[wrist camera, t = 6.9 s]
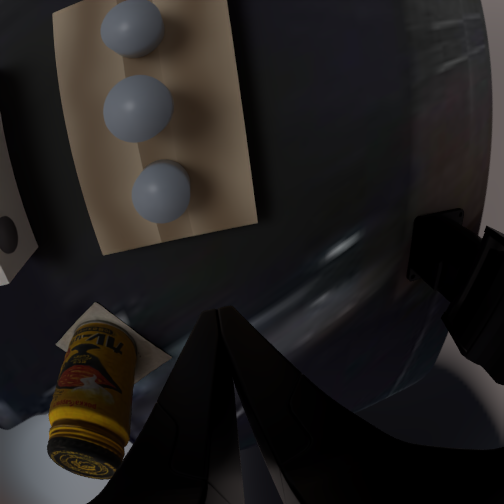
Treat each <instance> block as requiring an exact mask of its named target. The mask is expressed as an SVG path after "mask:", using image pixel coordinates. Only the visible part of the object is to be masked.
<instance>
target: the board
mask: <svg viewBox="0 0 504 504" xmlns="http://www.w3.org/2000/svg"><path fill="white" fill-rule="evenodd" d="M123 1H126V0H84V1H81V2H79V3H76V4H74V5H71V6H69V7H66V8H64V9H62V10H59V11H57V12H55V13H53V31H54V45H55V56H56V65H57V74H58V81H59V88H60V95H61V101H62V107H63V113H64V118H65V123H66V128H67V133H68V137H69V142H70V146H71V151H72V155H73V159H74V163H75V167H76V171H77V175H78V178H79V182H80V186H81V189H82V193H83V196H84V199H85V203H86V206H87V209H88V212H89V215H90V219H91V222H92V225H93V228H94V231H95V234H96V236H97V239H98V242H99V245H100V248H101V250H102V253H103V255H108V254H112V253H116V252H121V251H125V250H130V249H134V248H139V247H143V246H148V245H152V244H157V243H162V242H166V241H171V240H176V239H180V238H185V237H190V236H195V235H200V234H205V233H209V232H214V231H219V230H224V229H229V228H234V227H239V226H245V225H250V224H255V223H258V221H257V213H256V205H255V198H254V190H253V183H252V175H251V168H250V160H249V153H248V145H247V138H246V131H245V124H244V116H243V109H242V102H241V95H240V88H239V81H238V74H237V67H236V60H235V53H234V46H233V39H232V32H231V25H230V19H229V12H228V5H227V0H148V1H150V2H152V3H153V4H154V5H156V7H157V8H158V9H159V11H160V14H161V17H162V20H163V23H164V26H165V32H164V37H163V39H162V41H161V43H160V44H159V46H158V47H157V48H156V49H155V50H153V51H152V52H151V53H149V54H147V55H145V56H142V57H139V58H126V57H123V56H121V55H119V54H118V53H116V52H115V51H113V50H111V49H110V48H108V47H107V46H106V45H105V43H104V42H103V40H102V38H101V25H102V22H103V19H104V18H105V16H106V15H107V13H108V12H109V11H110V10H111V9H112V8H113V7H115V6H116V5H118V4H119V3H121V2H123ZM134 75H147V76H151V77H153V78H155V79H157V80H159V81H160V82H161V83H163V84H164V85H165V86H166V87H167V88H168V89H169V90H170V92H171V94H172V96H173V100H174V112H173V115H172V118H171V120H170V122H169V123H168V125H167V126H166V127H165V128H164V129H163V130H162V131H161V132H159V133H158V134H157V135H156V136H154V137H153V138H151V139H149V140H146V141H143V142H137V143H132V142H126V141H123V140H120V139H118V138H117V137H115V136H114V135H113V134H112V133H111V132H110V131H109V129H108V128H107V126H106V124H105V121H104V115H103V108H104V103H105V100H106V97H107V95H108V93H109V92H110V90H111V89H112V88H113V87H114V86H115V85H116V84H117V83H118V82H120V81H121V80H123V79H125V78H127V77H130V76H134ZM161 159H167V160H172V161H175V162H177V163H179V164H180V165H181V166H182V167H183V168H184V169H185V170H186V171H187V173H188V175H189V179H190V201H189V204H188V207H187V209H186V210H185V212H184V213H183V214H182V215H181V216H180V217H179V218H177V219H176V220H174V221H172V222H168V223H153V222H150V221H148V220H146V219H144V218H143V217H142V216H141V215H140V214H139V213H138V212H137V211H136V209H135V207H134V205H133V202H132V188H133V185H134V183H135V181H136V179H137V178H138V176H139V175H140V174H141V172H142V171H143V169H144V168H145V167H146V166H147V165H149V164H150V163H152V162H154V161H157V160H161Z"/></svg>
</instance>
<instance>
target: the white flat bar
mask: <svg viewBox="0 0 504 504" xmlns="http://www.w3.org/2000/svg"><path fill="white" fill-rule="evenodd" d="M37 248H38V245H37V242H36V240H35V237H34V235H33V232H32V229H31V227H30V224H29V221H28V218H27V215H26V212H25V210H24V207H23V204H22V200H21V197H20V194H19V191H18V187H17V184H16V181H15V177H14V173H13V170H12V166H11V162H10V158H9V153H8V149H7V145H6V140H5V135H4V130H3V124H2V119H1V113H0V286H1V285H5V284H9V283H10V282H11V281H12V279H13V278H14V277H15V275H16V274H17V273H18V271H19V270H20V269H21V268H22V266H23V265H24V264H25V263H26V261H27V260H28V259H29V258H30V257H31V255H32V254H33V253H34V252H35V250H36V249H37Z"/></svg>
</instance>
